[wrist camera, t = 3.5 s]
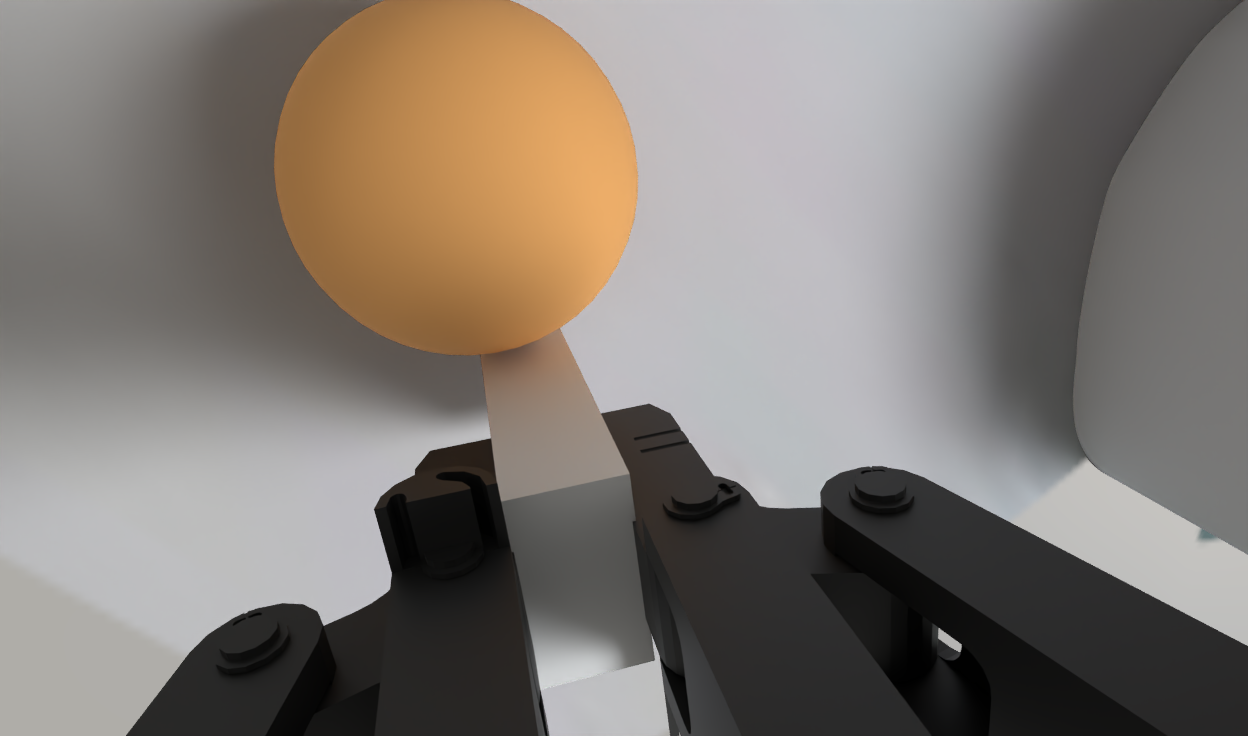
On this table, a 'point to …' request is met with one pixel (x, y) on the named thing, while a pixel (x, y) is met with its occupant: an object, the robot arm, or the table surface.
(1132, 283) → the lumpy-topped squat cylinder
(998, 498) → the table surface
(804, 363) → the table surface
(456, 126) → the ball
